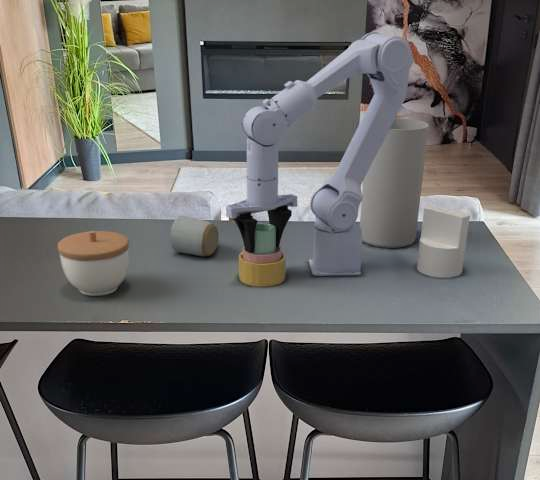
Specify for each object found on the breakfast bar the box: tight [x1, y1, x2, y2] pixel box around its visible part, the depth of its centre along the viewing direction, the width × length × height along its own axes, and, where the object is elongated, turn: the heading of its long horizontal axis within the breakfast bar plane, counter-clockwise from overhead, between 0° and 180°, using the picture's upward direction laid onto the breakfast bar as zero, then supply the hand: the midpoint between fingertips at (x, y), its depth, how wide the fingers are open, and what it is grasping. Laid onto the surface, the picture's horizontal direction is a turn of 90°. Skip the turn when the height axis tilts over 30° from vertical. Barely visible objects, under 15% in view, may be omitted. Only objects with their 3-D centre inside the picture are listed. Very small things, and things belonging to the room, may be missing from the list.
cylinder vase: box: [359, 117, 429, 249], centre depth 152 cm, size 12×12×25 cm
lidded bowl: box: [57, 230, 130, 297], centre depth 131 cm, size 13×13×11 cm
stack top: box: [242, 245, 283, 264], centre depth 137 cm, size 8×8×6 cm
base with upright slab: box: [416, 204, 471, 279], centre depth 140 cm, size 9×9×12 cm
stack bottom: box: [238, 251, 287, 288], centre depth 137 cm, size 9×9×4 cm
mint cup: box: [249, 222, 276, 255], centre depth 135 cm, size 5×5×6 cm
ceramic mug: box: [169, 215, 219, 257], centre depth 149 cm, size 11×8×8 cm
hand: (262, 248), depth 135 cm, fingers closed on mint cup, 5 cm apart
